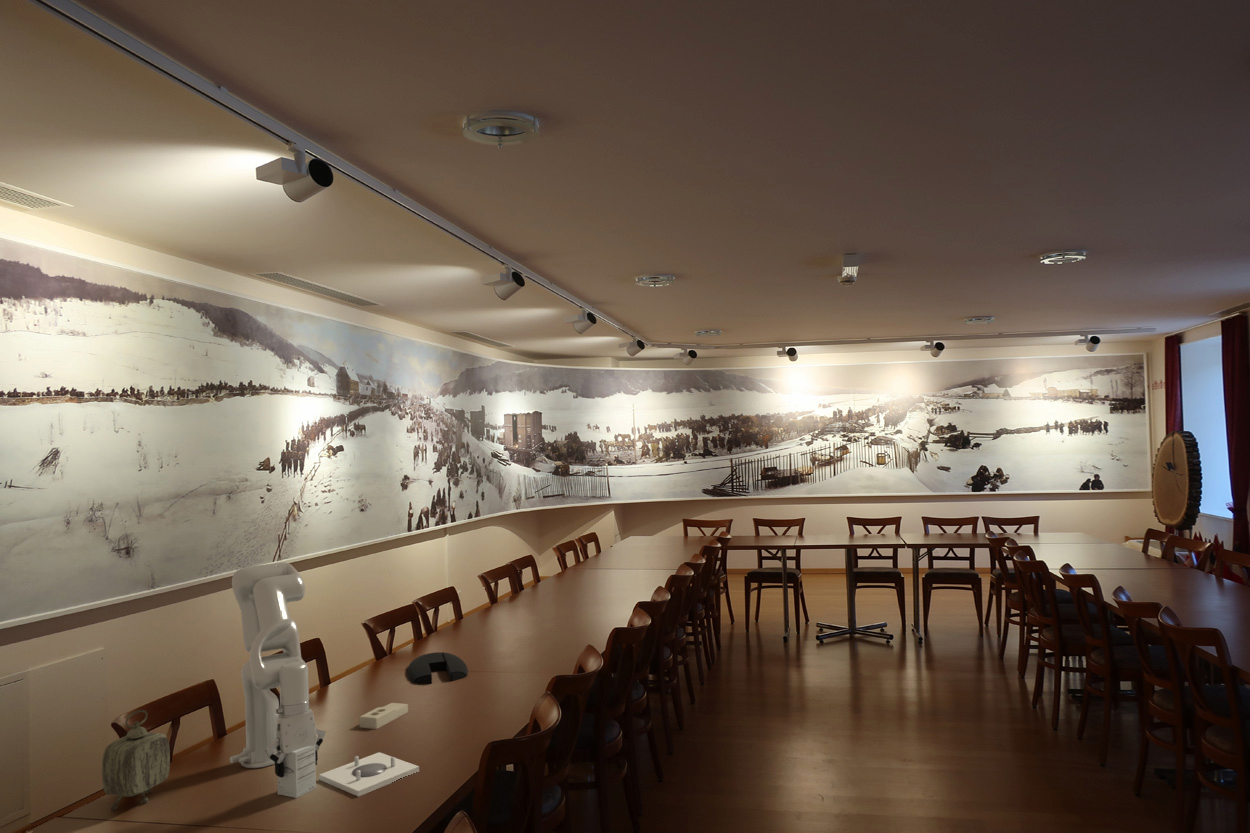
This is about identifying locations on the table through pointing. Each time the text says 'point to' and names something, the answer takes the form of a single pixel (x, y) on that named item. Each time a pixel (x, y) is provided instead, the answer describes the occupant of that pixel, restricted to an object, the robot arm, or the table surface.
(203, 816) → the table surface
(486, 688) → the table surface
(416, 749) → the table surface
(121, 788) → the tabletop clock
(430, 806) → the table surface
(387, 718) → the electrical outlet
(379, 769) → the locating plate
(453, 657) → the docking station
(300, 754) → the supplement box
